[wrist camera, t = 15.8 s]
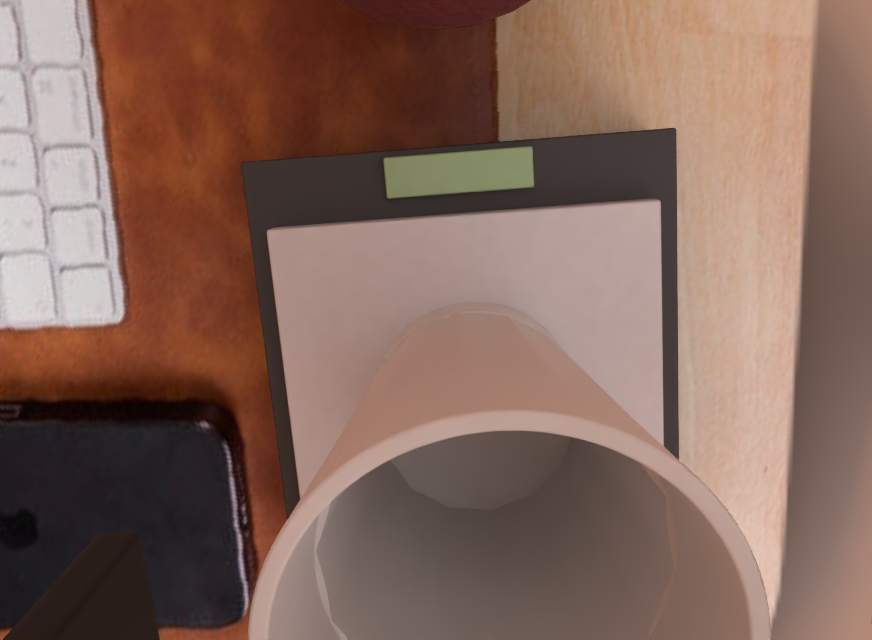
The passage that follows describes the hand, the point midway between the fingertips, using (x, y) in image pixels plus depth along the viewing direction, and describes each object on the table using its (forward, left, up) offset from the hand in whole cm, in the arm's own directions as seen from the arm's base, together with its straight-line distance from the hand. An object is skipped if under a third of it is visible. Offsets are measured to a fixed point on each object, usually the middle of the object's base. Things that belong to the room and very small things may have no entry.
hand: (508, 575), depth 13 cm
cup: (0, 0, -10) cm, 10 cm away
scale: (0, -1, -14) cm, 14 cm away
